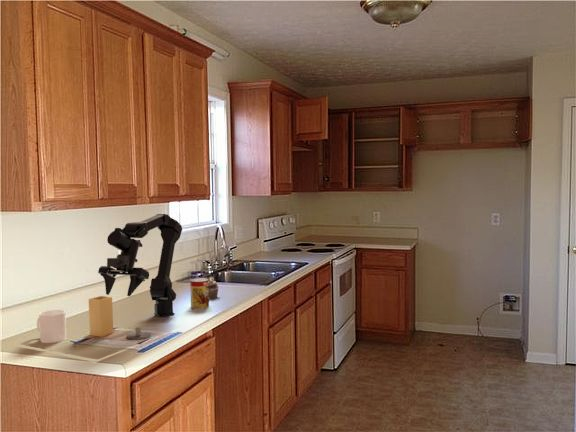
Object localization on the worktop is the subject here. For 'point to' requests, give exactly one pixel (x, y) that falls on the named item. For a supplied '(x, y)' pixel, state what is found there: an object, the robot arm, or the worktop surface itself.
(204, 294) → the canned food
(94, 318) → the sleeve
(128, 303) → the worktop surface
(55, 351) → the worktop surface
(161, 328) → the worktop surface
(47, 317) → the mug
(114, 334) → the board
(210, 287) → the cupcake
